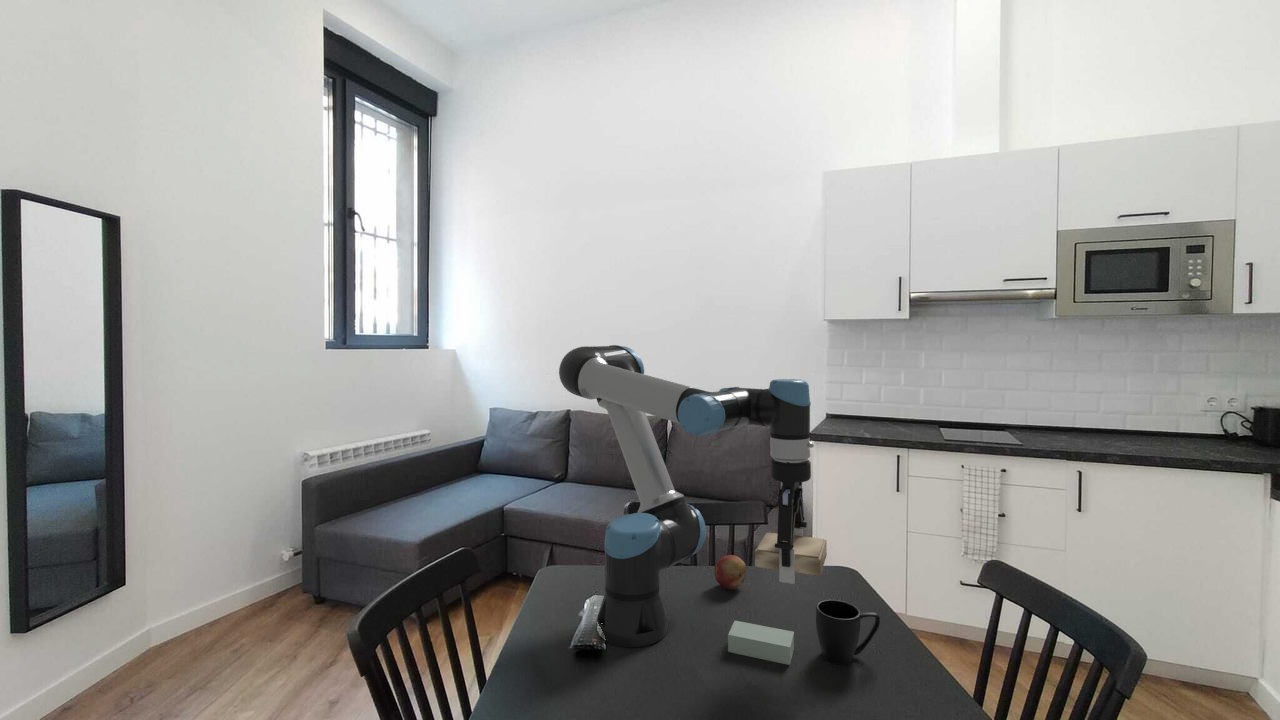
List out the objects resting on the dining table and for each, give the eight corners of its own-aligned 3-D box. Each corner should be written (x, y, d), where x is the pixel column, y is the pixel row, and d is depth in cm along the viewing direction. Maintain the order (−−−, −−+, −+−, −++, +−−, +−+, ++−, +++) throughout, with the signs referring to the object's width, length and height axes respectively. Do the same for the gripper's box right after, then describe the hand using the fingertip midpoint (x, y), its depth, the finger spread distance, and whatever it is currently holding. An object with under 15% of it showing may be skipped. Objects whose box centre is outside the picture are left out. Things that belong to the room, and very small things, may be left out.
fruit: (724, 597, 136) (724, 564, 136) (708, 584, 144) (708, 553, 143) (751, 592, 139) (752, 559, 139) (734, 579, 147) (735, 548, 146)
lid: (755, 566, 109) (754, 549, 109) (766, 547, 119) (766, 531, 119) (820, 575, 104) (820, 557, 104) (826, 554, 114) (826, 538, 114)
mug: (885, 671, 107) (887, 621, 107) (820, 667, 108) (821, 618, 108) (872, 647, 115) (873, 601, 115) (811, 644, 116) (812, 598, 116)
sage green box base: (727, 651, 113) (728, 634, 113) (734, 636, 119) (734, 620, 119) (789, 665, 109) (790, 647, 109) (793, 648, 114) (794, 631, 114)
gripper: (802, 473, 99) (803, 598, 99) (817, 449, 120) (818, 552, 121) (758, 470, 102) (760, 591, 102) (781, 447, 123) (782, 547, 124)
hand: (792, 570), depth 112 cm, fingers closed on lid, 11 cm apart
